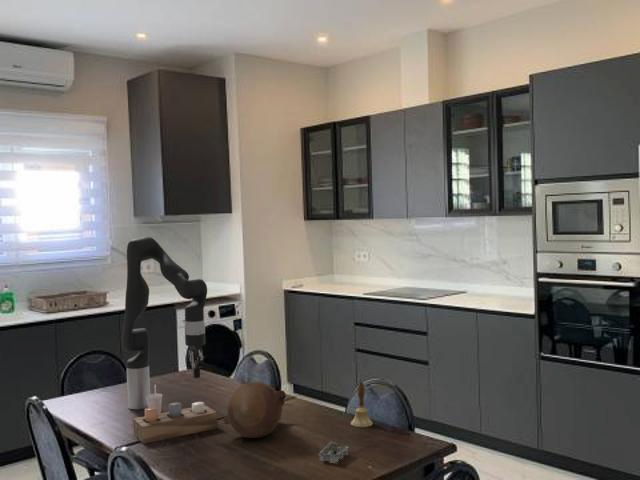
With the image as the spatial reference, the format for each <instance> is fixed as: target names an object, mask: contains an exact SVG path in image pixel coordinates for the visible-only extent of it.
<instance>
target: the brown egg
mask: <svg viewBox="0 0 640 480" xmlns="http://www.w3.org/2000/svg"><path fill="white" fill-rule="evenodd" d="M144 416H145V423H151V422H156V421H158V408H157V407H147V408H144Z"/></svg>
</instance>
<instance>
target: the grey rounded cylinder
mask: <svg viewBox="0 0 640 480" xmlns="http://www.w3.org/2000/svg"><path fill="white" fill-rule="evenodd" d="M182 409H183V408H182V403H181V402H179V401H178V402H170V403H169V404H168V412H169V418H176V417H181V416H182Z"/></svg>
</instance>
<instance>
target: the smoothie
mask: <svg viewBox="0 0 640 480" xmlns="http://www.w3.org/2000/svg"><path fill="white" fill-rule="evenodd" d="M153 386H154V393H150V394H149V395H147V396H146V399H147V403H148V407H157V408H158V414H160V413H162V412H161V411H162V399H163V394H162V393H157V384H154V385H153ZM148 407H147V408H148Z"/></svg>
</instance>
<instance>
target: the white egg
mask: <svg viewBox="0 0 640 480" xmlns="http://www.w3.org/2000/svg"><path fill="white" fill-rule="evenodd" d="M204 405H205V402H203V401H196V402H193V403H191V407H192V413H193V414H196V413H202V412H205V410H204Z"/></svg>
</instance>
